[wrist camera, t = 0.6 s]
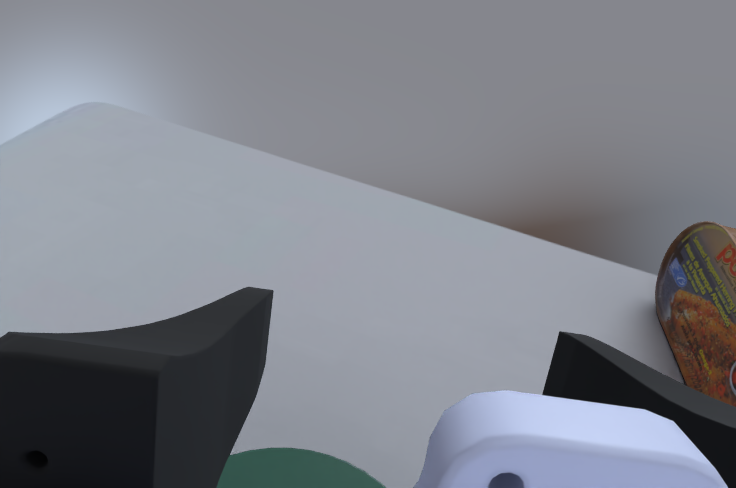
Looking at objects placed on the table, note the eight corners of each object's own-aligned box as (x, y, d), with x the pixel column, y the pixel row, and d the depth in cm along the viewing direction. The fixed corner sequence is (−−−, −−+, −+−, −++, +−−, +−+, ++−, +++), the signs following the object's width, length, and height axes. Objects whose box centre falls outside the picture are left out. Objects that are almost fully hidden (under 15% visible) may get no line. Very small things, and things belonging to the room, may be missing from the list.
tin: (643, 281, 43) (697, 194, 38) (682, 287, 43) (742, 201, 38) (715, 462, 32) (808, 375, 26) (769, 470, 32) (873, 385, 26)
